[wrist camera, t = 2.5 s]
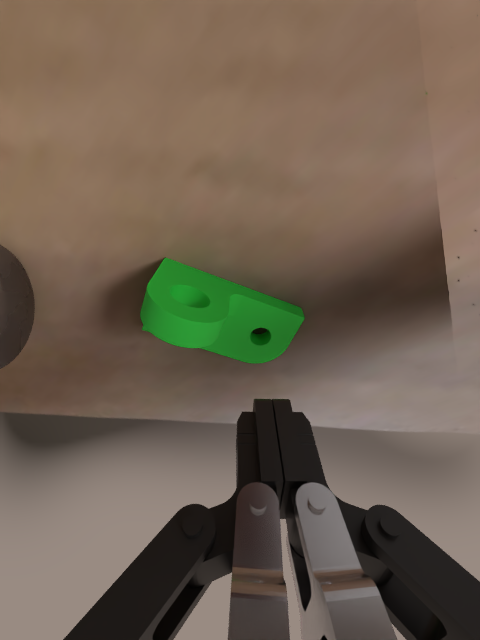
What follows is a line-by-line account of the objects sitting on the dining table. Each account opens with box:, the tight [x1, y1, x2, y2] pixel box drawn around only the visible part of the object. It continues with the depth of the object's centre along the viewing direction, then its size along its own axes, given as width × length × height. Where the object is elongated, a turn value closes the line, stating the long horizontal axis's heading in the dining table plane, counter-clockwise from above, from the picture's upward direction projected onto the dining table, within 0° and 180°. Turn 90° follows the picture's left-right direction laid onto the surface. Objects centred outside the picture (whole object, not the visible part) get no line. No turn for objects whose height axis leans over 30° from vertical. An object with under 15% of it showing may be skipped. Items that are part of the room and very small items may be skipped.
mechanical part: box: [140, 258, 305, 363], centre depth 23 cm, size 12×6×8 cm, turn 68°
